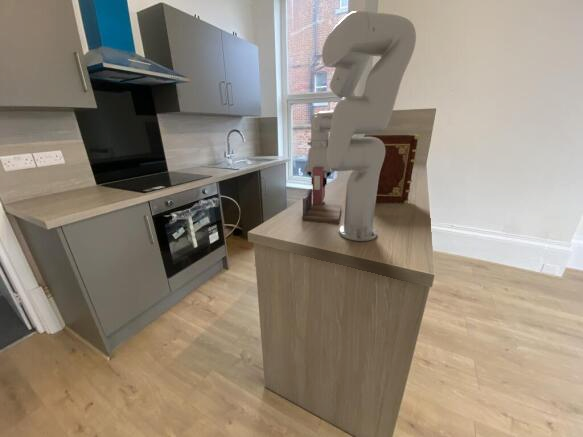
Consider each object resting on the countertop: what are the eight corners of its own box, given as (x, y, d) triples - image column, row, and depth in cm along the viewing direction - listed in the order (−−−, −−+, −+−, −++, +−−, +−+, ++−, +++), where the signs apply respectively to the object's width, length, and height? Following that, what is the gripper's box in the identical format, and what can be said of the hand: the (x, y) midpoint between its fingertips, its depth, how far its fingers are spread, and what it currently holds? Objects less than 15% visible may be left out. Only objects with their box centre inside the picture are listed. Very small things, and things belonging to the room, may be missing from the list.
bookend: (305, 215, 94) (305, 198, 92) (302, 215, 95) (302, 198, 92) (311, 204, 107) (312, 189, 104) (309, 204, 107) (309, 189, 105)
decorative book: (404, 198, 119) (415, 134, 108) (410, 203, 112) (422, 135, 101) (358, 198, 121) (363, 135, 110) (360, 203, 114) (367, 136, 103)
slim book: (321, 204, 107) (321, 169, 100) (312, 204, 108) (312, 168, 101) (324, 196, 118) (325, 163, 111) (316, 195, 119) (316, 163, 112)
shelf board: (338, 223, 91) (338, 219, 91) (302, 221, 95) (302, 216, 94) (341, 209, 106) (341, 205, 105) (309, 207, 109) (309, 203, 108)
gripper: (298, 145, 102) (299, 187, 108) (338, 144, 98) (337, 188, 104) (302, 144, 109) (302, 184, 115) (340, 143, 105) (338, 185, 111)
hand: (319, 185), depth 110 cm, fingers closed on slim book, 4 cm apart
